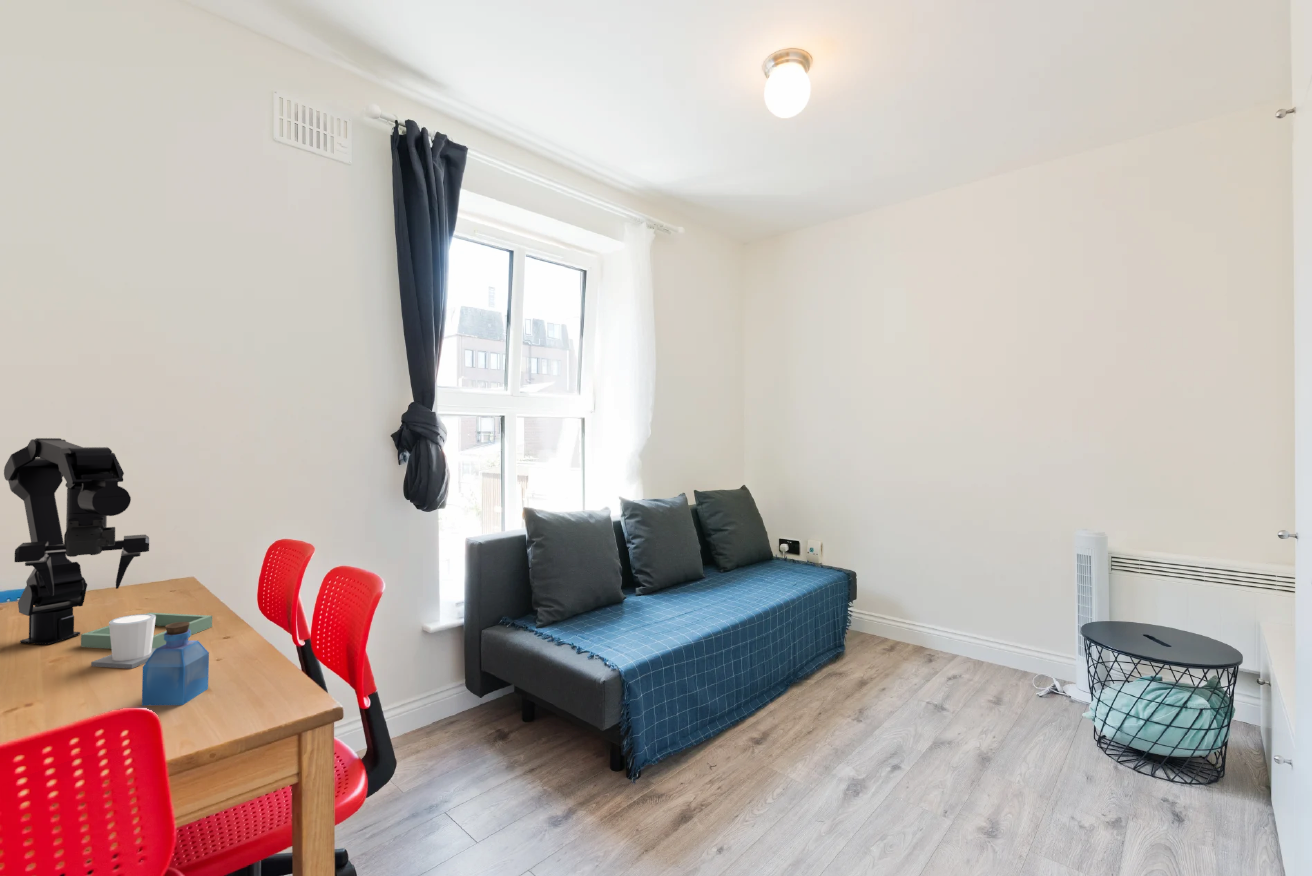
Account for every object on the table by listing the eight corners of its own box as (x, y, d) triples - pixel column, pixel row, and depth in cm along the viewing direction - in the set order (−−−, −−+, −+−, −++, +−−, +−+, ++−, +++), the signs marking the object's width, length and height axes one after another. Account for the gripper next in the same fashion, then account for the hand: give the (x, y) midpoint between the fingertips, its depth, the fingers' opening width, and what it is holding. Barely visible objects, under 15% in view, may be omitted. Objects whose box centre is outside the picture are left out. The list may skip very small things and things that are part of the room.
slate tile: (91, 666, 111) (91, 662, 111) (132, 650, 119) (132, 646, 119) (131, 668, 111) (131, 664, 111) (169, 653, 119) (170, 648, 119)
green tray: (80, 646, 121) (81, 634, 121) (149, 623, 136) (149, 612, 136) (150, 650, 119) (151, 638, 119) (212, 626, 134) (212, 615, 134)
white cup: (126, 663, 111) (127, 625, 111) (97, 659, 112) (98, 622, 112) (164, 650, 118) (165, 615, 118) (136, 647, 119) (137, 611, 119)
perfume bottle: (169, 689, 103) (171, 619, 103) (208, 688, 103) (209, 619, 103) (141, 705, 97) (143, 630, 96) (183, 705, 97) (184, 630, 97)
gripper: (10, 520, 105) (8, 610, 105) (150, 513, 117) (148, 593, 117) (19, 513, 113) (18, 595, 113) (149, 507, 126) (147, 582, 126)
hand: (85, 591), depth 117 cm, fingers open, 9 cm apart
